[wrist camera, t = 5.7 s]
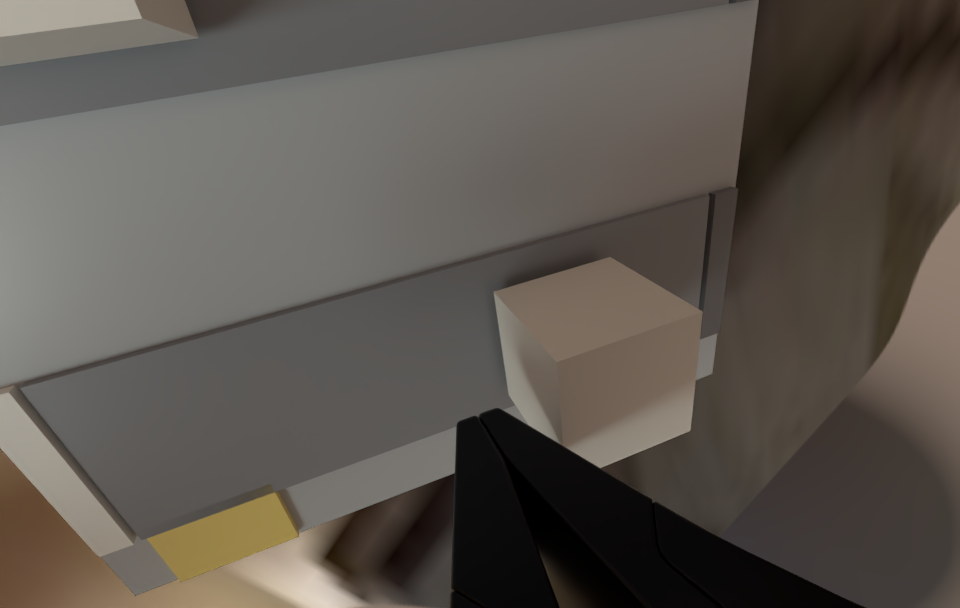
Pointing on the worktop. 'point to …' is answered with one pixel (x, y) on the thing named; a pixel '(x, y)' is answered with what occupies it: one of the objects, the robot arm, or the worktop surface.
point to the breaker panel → (331, 244)
